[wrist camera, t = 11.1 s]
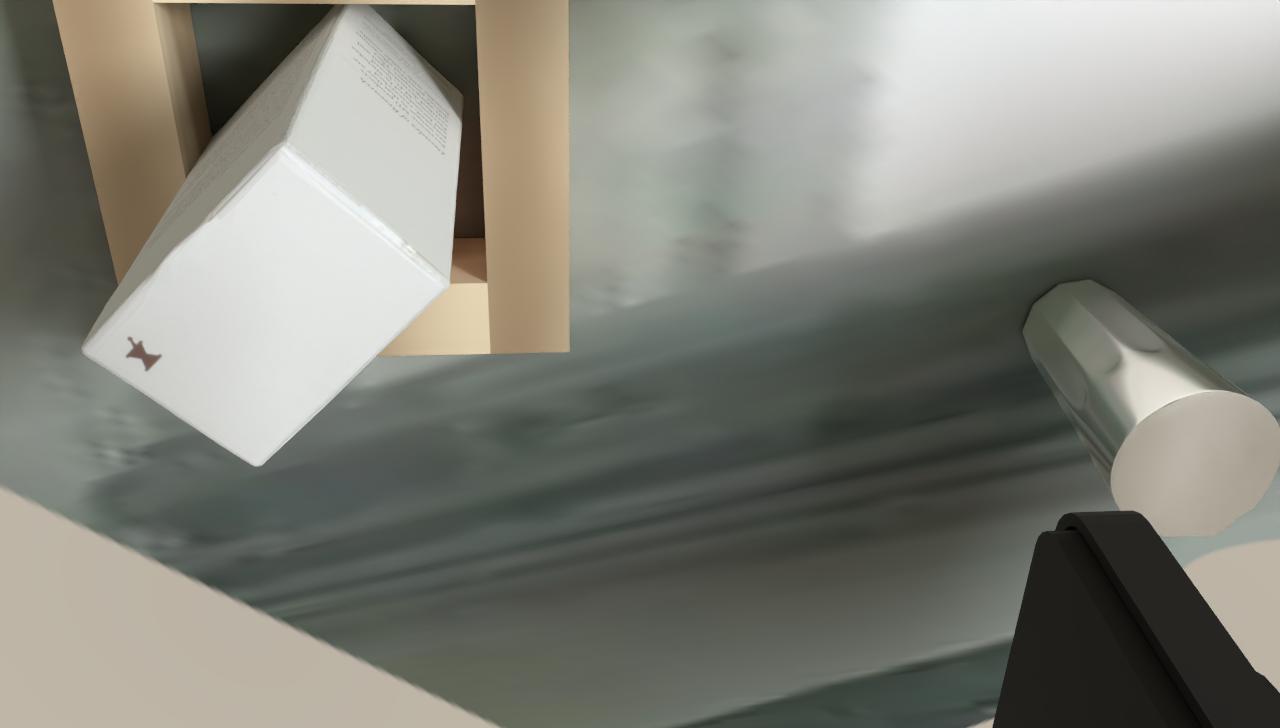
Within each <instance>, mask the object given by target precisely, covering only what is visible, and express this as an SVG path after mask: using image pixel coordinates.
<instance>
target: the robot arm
mask: <svg viewBox="0 0 1280 728" xmlns="http://www.w3.org/2000/svg"><path fill="white" fill-rule="evenodd" d="M993 728H1280V693H1279V692H1278V691H1277V689H1276V688H1275V687H1274V686H1273V685H1272V684H1271V683H1270V682H1269V681H1268V680H1267V679H1266V678H1265V677H1264V676H1263V675H1261V674H1260V673H1258V672H1256V671H1255V670H1254V668H1253V667H1252V666H1251V664H1250V663H1249V662H1248V660H1247V659H1246V657H1245V656H1244V654H1243V653H1242V652H1241V650H1240V649H1239V647H1238V646H1237V645H1236V643H1235V642H1234V640H1233V639H1232V638H1231V636H1230V635H1229V634H1228V632H1227V631H1226V629H1225V628H1224V626H1223V625H1222V623H1221V622H1220V621H1219V619H1218V618H1217V616H1216V615H1215V614H1214V612H1213V611H1212V609H1211V608H1210V607H1209V605H1208V604H1207V602H1206V601H1205V600H1204V598H1203V597H1202V596H1201V594H1200V593H1199V591H1198V590H1197V588H1196V587H1195V586H1194V584H1193V583H1192V581H1191V580H1190V579H1189V577H1188V576H1187V574H1186V573H1185V572H1184V570H1183V569H1182V567H1181V566H1180V565H1179V563H1178V562H1177V560H1176V559H1175V558H1174V556H1173V555H1172V553H1171V552H1170V550H1169V549H1168V548H1167V546H1166V545H1165V543H1164V542H1163V541H1162V539H1161V538H1160V536H1159V535H1158V534H1157V532H1156V531H1155V529H1154V528H1153V527H1152V525H1151V524H1150V522H1149V521H1148V520H1147V519H1146V518H1145V517H1144V516H1143V515H1142V514H1141V513H1138V512H1136V511H1133V510H1131V511H1104V512H1077V513H1068V514H1065V515H1063V517H1062V518H1061V519H1060V520H1059V521H1058V524H1057V527H1056V530H1055V531H1046V532H1042V533H1041V535H1040V536H1039V537H1038V540H1037V542H1036V545H1035V549H1034V554H1033V558H1032V562H1031V566H1030V571H1029V575H1028V579H1027V583H1026V588H1025V592H1024V596H1023V600H1022V604H1021V609H1020V613H1019V617H1018V621H1017V626H1016V630H1015V634H1014V638H1013V643H1012V647H1011V651H1010V655H1009V660H1008V664H1007V668H1006V672H1005V676H1004V681H1003V685H1002V689H1001V693H1000V698H999V702H998V706H997V710H996V715H995V719H994V723H993Z"/></svg>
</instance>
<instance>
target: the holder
mask: <svg viewBox="0 0 1280 728" xmlns="http://www.w3.org/2000/svg"><path fill="white" fill-rule="evenodd" d="M52 1H53V5H54V10H55V14H56V18H57V23H58V27H59V31H60V36H61V40H62V45H63V49H64V53H65V58H66V62H67V66H68V71H69V75H70V79H71V84H72V88H73V92H74V97H75V101H76V105H77V110H78V114H79V118H80V123H81V127H82V131H83V136H84V140H85V144H86V149H87V153H88V157H89V162H90V166H91V170H92V175H93V179H94V183H95V188H96V192H97V196H98V201H99V205H100V209H101V214H102V218H103V222H104V227H105V231H106V235H107V240H108V244H109V248H110V253H111V257H112V261H113V266H114V270H115V274H116V279H117V283H118V286H119V285H120V283H121V282H122V280H123V278H124V277H125V275H126V273H127V272H128V270H129V269H130V267H131V266H132V264H133V262H134V261H135V259H136V257H137V256H138V254H139V253H140V251H141V250H142V248H143V246H144V245H145V243H146V242H147V240H148V239H149V237H150V236H151V234H152V232H153V231H154V229H155V228H156V226H157V225H158V223H159V221H160V220H161V218H162V217H163V215H164V214H165V212H166V210H167V209H168V207H169V205H170V204H171V202H172V201H173V199H174V198H175V196H176V194H177V192H178V191H179V189H180V187H181V186H182V184H183V183H184V181H185V180H186V178H187V176H188V175H189V173H190V172H191V170H192V168H193V167H194V165H195V164H196V162H197V161H198V159H199V157H200V156H201V155H202V153H203V151H204V150H205V148H206V147H207V145H208V143H209V142H210V140H211V138H212V134H211V128H210V122H209V116H208V110H207V104H206V98H205V92H204V87H203V81H202V75H201V69H200V63H199V57H198V51H197V45H196V40H195V34H194V28H193V22H192V16H191V10H190V4H189V3H286V4H430V5H475V10H476V33H477V56H478V79H479V102H480V124H481V147H482V170H483V193H484V215H485V238H453V248H452V262H451V273H450V286H449V288H448V289H447V290H446V291H445V292H444V293H442V294H441V295H440V296H439V297H438V298H437V299H436V300H434V301H433V302H432V303H431V304H430V305H429V306H428V307H427V308H426V309H425V310H424V311H423V312H422V313H421V314H420V315H419V316H418V317H417V318H416V319H415V320H413V321H412V322H411V323H410V324H409V325H408V326H407V327H406V328H405V329H404V330H403V331H402V332H401V333H400V334H399V335H398V336H397V337H396V338H395V339H393V340H392V341H391V342H390V343H389V344H388V345H387V346H386V347H385V348H384V349H383V350H382V351H381V352H380V353H379V354H378V355H377V356H416V355H460V354H503V353H546V352H569V0H52Z"/></svg>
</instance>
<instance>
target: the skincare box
mask: <svg viewBox="0 0 1280 728" xmlns="http://www.w3.org/2000/svg"><path fill="white" fill-rule="evenodd" d="M463 102H464V97H463V95H462V94H461V93H460V92H459V90H458V89H457V88H456V87H455V86H453V85H452V84H451V83H450V82H449V81H448V80H447V79H446V78H445V77H443V76H442V75H441V74H440V73H439V72H438V71H437V70H436V69H435V68H434V67H432V66H431V65H430V64H429V63H428V62H427V61H426V60H425V59H424V58H423V57H422V56H421V55H420V54H419V53H418V52H417V51H416V50H415V49H414V48H413V47H412V46H411V45H410V44H409V43H408V42H407V41H406V40H405V39H404V38H403V37H402V36H401V35H400V34H399V33H398V32H396V31H395V30H394V29H393V28H392V27H391V26H390V25H389V24H388V23H387V22H386V21H385V20H384V19H383V18H382V17H381V16H380V15H379V14H378V13H377V12H376V11H375V10H374V9H373V8H372V7H370V6H369V5H368V4H335V6H334V7H333V8H332V9H331V10H330V11H329V12H328V13H327V14H326V15H325V16H324V17H323V18H322V20H321V21H320V22H319V23H318V24H317V25H316V26H315V27H314V28H313V29H312V30H311V31H310V32H309V33H308V34H307V35H306V36H305V38H304V39H303V40H302V41H301V42H300V43H299V44H298V45H297V46H296V47H295V48H294V49H293V50H292V52H291V53H290V54H289V55H288V56H287V57H286V58H285V59H284V60H283V61H282V62H281V63H280V65H279V66H278V67H277V68H276V69H275V70H274V71H273V72H272V73H271V74H270V75H269V76H268V77H267V79H266V80H265V81H264V82H263V83H262V84H261V85H260V86H259V87H258V88H257V90H256V91H255V92H254V93H253V94H252V95H251V96H250V97H249V98H248V99H247V101H246V102H245V103H244V104H243V105H242V106H241V107H240V108H239V109H238V110H237V111H236V113H235V114H234V115H233V116H232V117H231V118H230V119H229V120H228V121H227V122H226V123H225V124H224V126H223V127H222V128H221V129H220V130H219V131H218V132H217V133H216V134H215V135H214V136H213V137H212V138H211V140H210V142H209V143H208V145H207V147H206V148H205V150H204V151H203V153H202V155H201V156H200V157H199V159H198V161H197V162H196V164H195V165H194V167H193V168H192V170H191V172H190V173H189V175H188V176H187V178H186V180H185V181H184V183H183V184H182V186H181V187H180V189H179V191H178V192H177V194H176V196H175V198H174V199H173V201H172V202H171V204H170V205H169V207H168V209H167V210H166V212H165V214H164V215H163V217H162V218H161V220H160V221H159V223H158V225H157V226H156V228H155V229H154V231H153V232H152V234H151V236H150V237H149V239H148V240H147V242H146V243H145V245H144V246H143V248H142V250H141V251H140V253H139V254H138V256H137V257H136V259H135V261H134V262H133V264H132V266H131V267H130V269H129V270H128V272H127V273H126V275H125V277H124V278H123V280H122V282H121V283H120V285H119V286H118V288H117V289H116V290H115V292H114V293H113V295H112V296H111V298H110V299H109V301H108V302H107V304H106V305H105V307H104V309H103V310H102V312H101V314H100V316H99V317H98V318H97V320H96V322H95V324H94V325H93V327H92V329H91V331H90V332H89V334H88V336H87V338H86V339H85V341H84V343H83V345H82V349H81V350H82V354H83V355H84V356H86V357H87V358H89V359H91V360H92V361H94V362H96V363H97V364H99V365H100V366H102V367H103V368H105V369H107V370H108V371H110V372H111V373H113V374H114V375H116V376H117V377H119V378H120V379H122V380H124V381H125V382H127V383H128V384H130V385H131V386H133V387H134V388H136V389H137V390H139V391H140V392H142V393H143V394H145V395H146V396H148V397H149V398H151V399H152V400H154V401H155V402H157V403H158V404H160V405H161V406H163V407H164V408H166V409H167V410H169V411H170V412H172V413H173V414H174V415H176V416H177V417H179V418H180V419H182V420H183V421H185V422H186V423H188V424H189V425H191V426H192V427H194V428H195V429H197V430H198V431H200V432H201V433H203V434H204V435H206V436H207V437H209V438H210V439H212V440H213V441H215V442H216V443H218V444H219V445H221V446H222V447H224V448H225V449H227V450H228V451H230V452H232V453H233V454H235V455H236V456H238V457H240V458H241V459H243V460H244V461H246V462H248V463H249V464H251V465H253V466H255V467H258V466H262V465H263V464H264V463H265V462H266V461H267V460H268V459H269V458H270V457H271V456H272V455H273V454H274V453H275V452H277V451H278V450H279V449H280V448H281V447H282V446H283V445H284V444H285V443H286V442H287V441H288V440H289V439H291V438H292V437H293V436H294V435H295V434H296V433H297V432H298V431H299V430H300V429H301V428H302V427H303V426H304V425H306V424H307V423H308V422H309V421H310V420H311V419H312V418H313V417H314V416H315V415H316V414H317V413H318V412H319V411H321V410H322V409H323V408H324V407H325V406H326V405H327V404H328V403H329V402H330V401H331V400H332V399H333V398H334V397H335V396H336V395H337V394H338V393H339V392H340V391H341V390H342V389H343V388H344V387H345V386H346V385H347V384H348V383H349V382H350V381H351V380H352V379H353V378H354V377H355V376H356V375H357V374H358V373H359V372H360V371H362V370H363V369H364V368H365V367H366V366H367V365H368V364H369V363H370V362H371V361H372V360H373V359H374V358H375V357H376V356H377V355H378V354H379V353H380V352H381V351H382V350H383V349H384V348H385V347H386V346H387V345H388V344H389V343H390V342H391V341H392V340H393V339H395V338H396V337H397V336H398V335H399V334H400V333H401V332H402V331H403V330H404V329H405V328H406V327H407V326H408V325H409V324H410V323H411V322H412V321H413V320H415V319H416V318H417V317H418V316H419V315H420V314H421V313H422V312H423V311H424V310H425V309H426V308H427V307H428V306H429V305H430V304H431V303H432V302H433V301H434V300H436V299H437V298H438V297H439V296H440V295H441V294H442V293H444V292H445V291H446V290H447V289H448V288H449V286H450V273H451V262H452V248H453V233H454V222H455V208H456V192H457V182H458V170H459V157H460V143H461V131H462V116H463Z"/></svg>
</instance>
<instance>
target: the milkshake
mask: <svg viewBox="0 0 1280 728" xmlns="http://www.w3.org/2000/svg"><path fill="white" fill-rule="evenodd" d="M1022 332H1023V335H1024V338H1025V341H1026V344H1027V347H1028V350H1029V353H1030V356H1031V358H1032V360H1033V361H1034V363H1035V365H1036V366H1037V368H1038V369H1039V371H1040V373H1041V374H1042V376H1043V378H1044V379H1045V381H1046V383H1047V384H1048V386H1049V388H1050V389H1051V391H1052V393H1053V394H1054V396H1055V398H1056V399H1057V401H1058V402H1059V404H1060V406H1061V407H1062V409H1063V411H1064V412H1065V414H1066V416H1067V417H1068V419H1069V421H1070V422H1071V424H1072V425H1073V427H1074V429H1075V430H1076V432H1077V434H1078V435H1079V437H1080V439H1081V440H1082V442H1083V444H1084V446H1085V447H1086V449H1087V451H1088V453H1089V455H1090V457H1091V459H1092V460H1093V462H1094V464H1095V466H1096V468H1097V470H1098V471H1099V473H1100V475H1101V477H1102V479H1103V481H1104V482H1105V484H1106V486H1107V488H1108V490H1109V491H1110V493H1111V495H1112V497H1113V499H1114V500H1115V502H1116V504H1117V506H1118V507H1119V509H1120V510H1121V511H1131V510H1133V511H1136V512H1138V513H1141V514H1142V515H1143V516H1144V517H1145V518H1146V519H1147V520H1148V521H1149V522H1150V524H1151V525H1152V527H1153V528H1154V529H1155V531H1156V532H1157V534H1158V535H1159V536H1164V537H1208V536H1214V535H1216V534H1219V533H1220V532H1222V531H1223V530H1225V529H1226V528H1227V527H1228V526H1229V525H1230V524H1231V523H1232V522H1233V521H1235V520H1236V519H1237V518H1238V517H1240V516H1241V515H1243V514H1245V513H1246V512H1248V511H1250V510H1251V509H1253V508H1254V507H1255V506H1256V505H1257V504H1258V503H1259V502H1260V501H1261V499H1262V498H1263V497H1264V495H1265V493H1266V492H1267V490H1268V488H1269V486H1270V485H1271V483H1272V481H1273V479H1274V476H1275V474H1276V472H1277V469H1278V467H1279V464H1280V427H1279V425H1278V423H1277V421H1276V419H1275V418H1274V417H1273V415H1272V414H1271V413H1270V412H1269V411H1268V410H1267V409H1266V408H1265V407H1264V406H1263V405H1261V404H1260V403H1259V402H1257V401H1256V400H1255V399H1253V398H1252V397H1251V396H1249V395H1248V394H1246V393H1245V392H1244V391H1242V390H1241V389H1240V388H1238V387H1237V386H1236V385H1234V384H1233V383H1231V382H1230V381H1229V380H1227V379H1226V378H1225V377H1223V376H1222V375H1220V374H1219V373H1218V372H1216V371H1215V370H1214V369H1212V368H1211V367H1209V366H1208V365H1207V364H1205V363H1204V362H1202V361H1201V360H1200V359H1198V358H1197V357H1195V356H1194V355H1193V354H1192V353H1190V352H1189V351H1188V350H1187V349H1185V348H1184V347H1183V346H1182V345H1180V344H1179V343H1178V342H1177V341H1175V340H1174V339H1173V338H1172V337H1170V336H1169V335H1168V334H1167V333H1165V332H1164V331H1163V330H1162V329H1160V328H1159V327H1158V326H1157V325H1155V324H1154V323H1153V322H1152V321H1150V320H1149V319H1148V318H1147V317H1145V316H1144V315H1143V314H1142V313H1140V312H1139V311H1138V310H1137V309H1135V308H1134V307H1133V306H1132V305H1130V304H1129V303H1128V302H1127V301H1125V300H1124V299H1123V298H1122V297H1120V296H1119V295H1118V294H1116V293H1115V292H1114V291H1112V290H1110V289H1108V288H1106V287H1104V286H1102V285H1100V284H1098V283H1097V282H1095V281H1093V280H1091V279H1087V280H1081V281H1075V282H1068V283H1062V284H1058V285H1057V286H1056V287H1054V288H1053V289H1052V290H1051V291H1049V292H1048V293H1047V294H1045V295H1044V296H1043V297H1042V298H1040V299H1039V300H1038V301H1036V302H1035V303H1034V304H1033V306H1032V308H1031V311H1030V313H1029V316H1028V318H1027V320H1026V323H1025V325H1024V328H1023V330H1022Z"/></svg>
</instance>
